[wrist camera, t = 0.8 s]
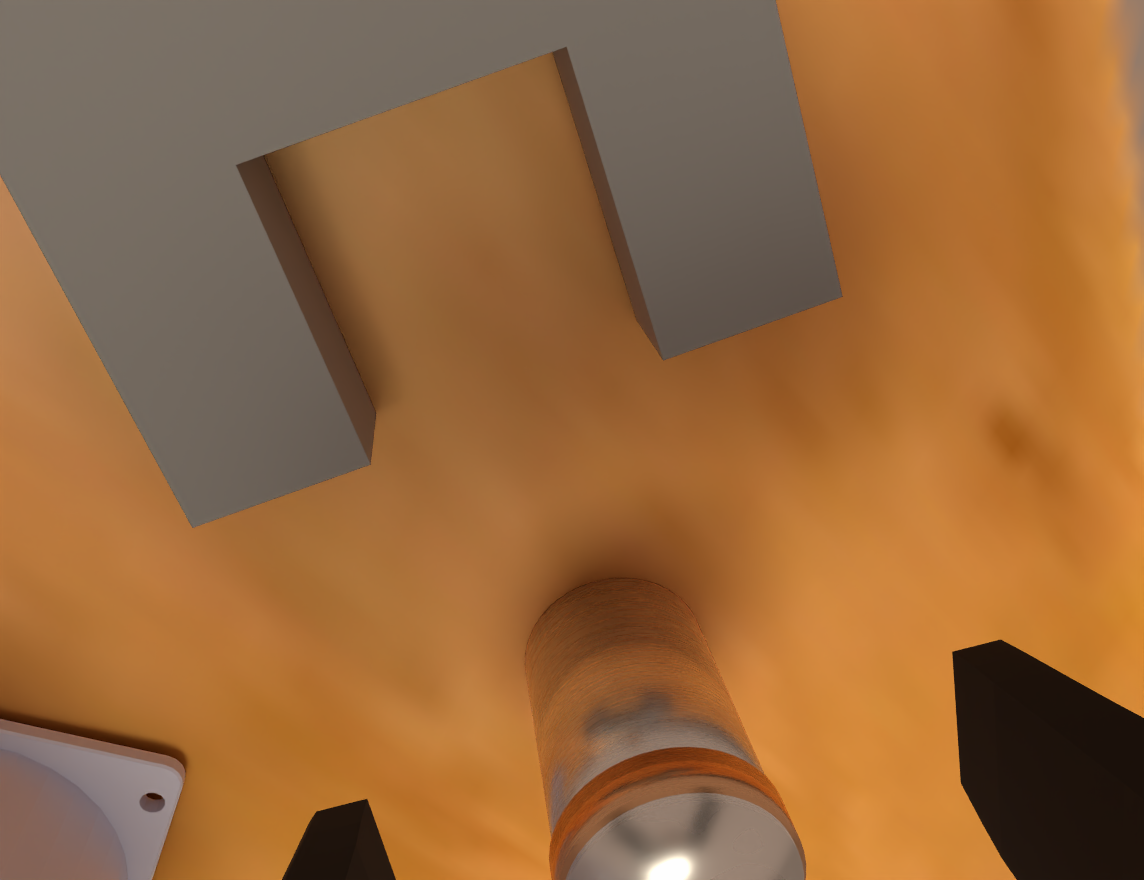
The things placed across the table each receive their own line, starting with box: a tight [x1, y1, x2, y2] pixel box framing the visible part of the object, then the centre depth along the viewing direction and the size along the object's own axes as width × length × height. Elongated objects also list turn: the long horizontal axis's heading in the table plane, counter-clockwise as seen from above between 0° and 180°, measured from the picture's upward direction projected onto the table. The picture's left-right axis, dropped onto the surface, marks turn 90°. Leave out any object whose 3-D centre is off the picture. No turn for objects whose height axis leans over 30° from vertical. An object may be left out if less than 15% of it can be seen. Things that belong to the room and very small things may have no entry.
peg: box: [525, 578, 806, 880], centre depth 21 cm, size 4×4×7 cm
